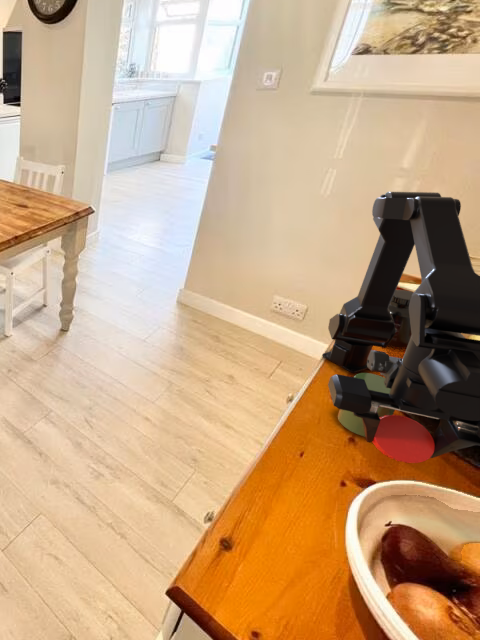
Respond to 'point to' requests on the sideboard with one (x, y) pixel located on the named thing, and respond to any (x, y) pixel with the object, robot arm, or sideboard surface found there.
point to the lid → (403, 439)
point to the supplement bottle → (401, 318)
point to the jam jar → (377, 385)
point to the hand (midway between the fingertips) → (397, 447)
